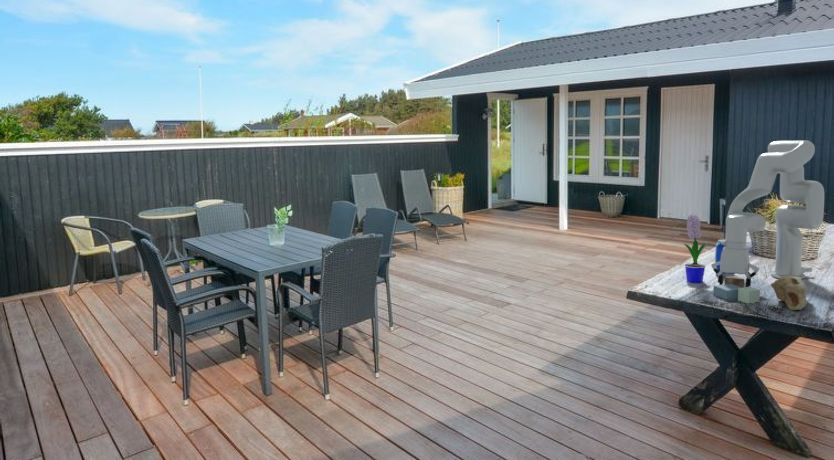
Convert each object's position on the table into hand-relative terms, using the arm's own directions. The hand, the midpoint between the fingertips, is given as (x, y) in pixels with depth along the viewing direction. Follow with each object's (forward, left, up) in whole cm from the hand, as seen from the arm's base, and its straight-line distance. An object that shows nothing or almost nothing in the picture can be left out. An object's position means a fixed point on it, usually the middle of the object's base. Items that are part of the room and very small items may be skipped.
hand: (733, 286), depth 232 cm
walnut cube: (0, 0, -2) cm, 2 cm away
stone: (-8, +22, -2) cm, 24 cm away
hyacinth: (+8, -15, -2) cm, 17 cm away
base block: (+7, +9, -2) cm, 12 cm away
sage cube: (+4, +17, -2) cm, 17 cm away
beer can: (-9, -23, -2) cm, 25 cm away
